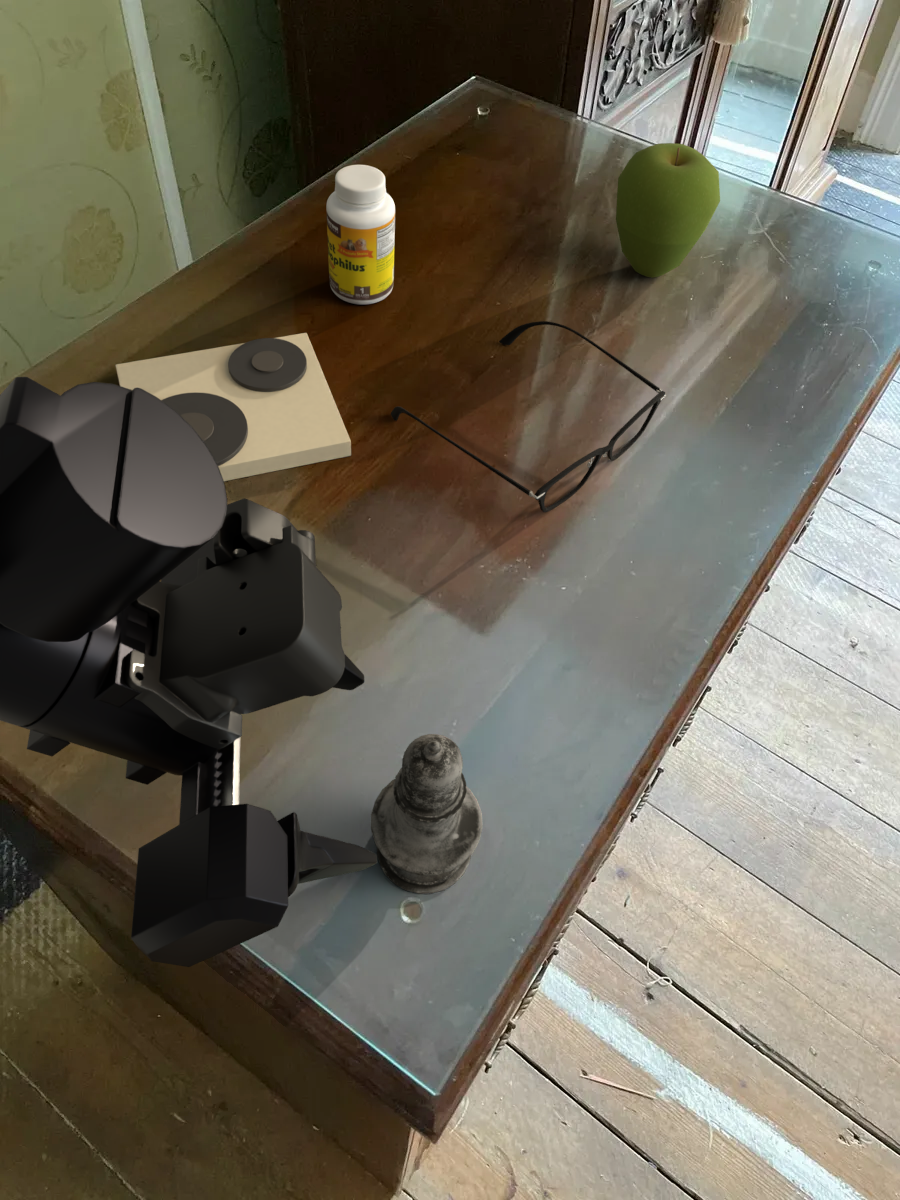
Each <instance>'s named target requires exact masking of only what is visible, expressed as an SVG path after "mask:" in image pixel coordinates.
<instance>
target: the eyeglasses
mask: <svg viewBox="0 0 900 1200" xmlns="http://www.w3.org/2000/svg"><path fill="white" fill-rule="evenodd" d="M547 325H548V326H554V327H559V328H562V329H565V330H568V331H569V332H571V333H573V334H575V335H576V336H578V337H580V338H581V339H583V340H584V341H586V342H587V343H589V344H590V345H592V346H593V347H595V348H596V349H598V350H599V351H600V352H601V353H603V354H604V355H606V356H607V357H609V358H610V360H613V361H614V362H615V363H617V364H618V365H619V366H621V367H622V368H623V369H624V370H626V371H628V372H629V373H630V374H631V375H633V376H634V377H636V378H637V379H638V380H640V382H642V383H644V384H645V385H647V386H648V387H649V388H650V389H652V390H653V391H655V392H656V393H657V394H656V395H654V396H653V398H651V400H649V401H648V402H647V403H646V404H644V405H643V406H642V407H641V408H640V409H638V411H637V412H636V413H635V414H634V415H633V416H632V417H631V418H630V419H629V420H628V421H627V422H626V423H625V424H623V426H621V428H619V430H618V431H617V432H616V433H615V434H614V435H613V436H612V437H611V439H610V440H609V442H608V444H607V445H606V446H603V447H598V448H596V449H594V450H593V451H591V452H589V453H587V454H585V455H584V456H582V457H581V458H579V459H577V460H576V461H574V462H573V463H572V464H570V465H568V466H567V467H566V468H564V469H563V470H562V471H560V472H559V473H558V474H556V475H555V476H553V477H552V478H551V479H550V480H548V481H547V482H546V483H544V484H543V485H542V486H541V487H539V488H538V489H537V490H536V491H535V493H534V492H533V490H530V489H528V488H527V487H525V486H523V485H522V484H521V483H519V482H517V481H516V480H514V479H513V478H511V477H509V476H508V475H507V474H506V473H505V474H504V473H503V472H502V471H500V470H499V469H497V468H495V466H492V465H490V463H487V462H486V461H484V460H483V459H481V458H480V457H479V456H477V455H475V454H474V453H472V452H471V451H469V450H467V449H465V448H464V447H463V446H461V445H460V444H458V443H457V442H455V441H453V440H452V439H450V438H448V437H447V436H445V435H444V434H442V433H441V432H439V431H438V430H436V429H435V428H433V427H432V426H430V425H429V424H428V423H426V422H425V421H423V420H422V419H420V418H419V417H418V416H416V415H415V414H413V413H411V412H410V411H408V410H406V409H405V408H403V407H402V406H400V405H399V406H397V405H396V406H395V407H393V408H392V410H391V412H390V417H391V418H392V420H394V421H395V422H397V421H398V419H399V417H400V415H401V414H405V415H407V416H409V417H410V418H412V419H413V420H415V421H417V422H418V423H419V424H421V425H423V426H424V427H426V429H429V430H430V431H432V432H433V433H435V434H436V435H438V436H439V437H441V438H442V439H444V440H445V441H447V442H448V443H449V444H451V445H452V446H454V447H455V448H457V449H458V450H460V451H461V452H463V453H465V454H466V455H467V456H469V458H472V459H474V460H475V461H476V462H478V463H479V464H481V465H482V466H484V467H485V468H486V469H488V470H490V471H491V472H493V473H494V474H496V475H497V476H499V477H500V478H502V479H503V480H505V481H506V482H508V483H509V484H511V485H512V486H514V487H515V488H516V489H518V490H520V491H521V492H522V493H524V494H526V495H527V496H529V497H530V498H534V499H535V500H536V501H537V502H538V505H539V506H538V507H539V509H540V511H542V512H543V513H548V512H550V511H552V510H554V509H555V508H557V507H558V506H561V504H563V503H565V502H566V501H567V500H569V498H571V497H572V496H574V495H575V494H576V493H577V492H579V490H580V489H582V488H583V486H584V485H585V484H586V482H588V480H589V478H590V477H591V475H592V473H593V472H594V470H595V469H596V467H597V465H598V464H599V462H600V460H601V459H602V457H603V458H606V457H607V459H608V460H610V461H611V462H613V461H616V460H617V459H618V458H620V457H621V456H622V455H623V454H624V453H625V452H627V450H629V448H631V447H632V446H633V445H634V444H635V442H637V440H638V439H640V437H641V436H642V434H643V433H644V431H645V430H646V428H647V427H648V425H649V424H650V422H651V420H652V418H653V416H654V415H655V413H656V411H657V409H658V407H659V405H660V404H661V403H662V401H663V400H664V398H666V396H667V393H666V391H664V390H663V389H662V388H660V387H659V386H657V385H656V384H654V382H651V381H650V380H648V378H646V377H644V376H643V375H642V374H640V373H639V372H638V371H636V370H635V369H633V368H631V367H630V366H629V365H628V364H626V363H625V362H623V361H622V360H620V359H619V358H617V357H616V356H614V355H613V354H611V353H610V352H608V351H607V350H605V349H604V348H603V347H601V346H600V345H598V344H597V343H596V342H594V341H593V340H591V339H589V338H587V336H585V335H583V334H581V333H580V332H579V331H577V330H575V329H573V328H571V327H569V326H567V325H564V324H561V323H558V322H553V321H546V320H541V321H531V322H527V323H523V324H520V325H518V326H517V327H515V328H513V329H512V330H511V331H508V333H507V334H505V335H504V336H503V337H502V338H501V339H499V340H498V343H500V344H502V345H504V346H510V345H511V346H512V344H513V343H514V342H515V341H516V339H518V337H520V336H521V335H522V334H523V333H525V331H527V330H528V329H530V328H534V327H537V326H547ZM650 408H651V409H650ZM649 409H650V411H649V413H648V414H647V416H646V418H645V420H644V422H643V424H641V427H640V429H639V430H638V431H637V433H636V434H635V435H634V436H633V437H632V439H630V440H629V441H628V443H627V444H626V445H624V446H623V447H622V448H621V449H620V450H619V451H618V452H617V453H615V454H614V455H613V451H614V447H615V444H616V442H617V441H618V439H620V438H621V436H622V435H623V434H624V433H625V432H626V431H627V430H628V429H629V428H630V427H631V426H632V425H633V424H634V423H635V422H636V421H637V420H638V419H639V418H640V417H642V415H643V414H645V413H646V412H647V411H648V410H649ZM589 460H590V461H589ZM584 463H587V464H586V465H587V466H586V467H587V468H588V470H587V472H586V473H585V474H584V476H583V477H582V479H581V480H580V482H579V483H578V484H577V485H576V486H575V487H573V488H572V489H571V490H570V491H569V492H568V493H567V494H565V495H564V496H562V497H561V498H559V499H558V500H556V501H555V502H553V503H552V504H550V505H548V506H546V505H545V504H546V503H545V500H546V497H547V493H548V491H549V490H550V489H551V488H552V487H553V486H554V485H555V484H557V483H558V482H559V481H560V480H562V479H563V478H564V477H565V476H567V475H568V474H570V473H571V472H572V471H574V470H575V469H577V468H578V467H580V466H581V465H583V464H584Z"/></svg>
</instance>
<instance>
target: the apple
mask: <svg viewBox="0 0 900 1200" xmlns="http://www.w3.org/2000/svg"><path fill="white" fill-rule="evenodd" d="M616 188H617V190H616V191H617V194H616V209H615V222H616V228H617V232H618V238H619V243H620V248H621V252H622V253H623V255H624V257H625V259H626V260H627V261H628V263H629V264H630V267H632V269H633V270H634V271H635V272H636V273H638V274H639V275H642V276H644V277H646V278H652V279H655V278H659V277H661V276H664V275H666V274H668V273H669V272H671V271H673V270H674V269H676V268H679V267H680V266H681V264H682V263H683V262H684V260H686V258H687V256H688V255H689V253H690V252H691V251H692V249H693V248H694V247H695V245H696V244H697V242H698V241H699V240H700V238H701V237H702V236H703V234H704V233H705V231H706V230H707V228H708V226H709V224H710V222H711V220H712V218H713V216H714V214H715V212H716V211H717V208H718V207H719V204H720V203H721V189H720V188H721V187H720V173H719V170H718V169H717V168H716V166H714V165H713V163H711V161H710V160H709V159H707V157H706V156H705V155H704V154H703V153H701V152H700V151H698V150H697V149H696V148H693V147H691V146H688V145H686V144H684V143H675V142H662V143H655V144H653V145H650V146H647V147H645V148H643V149H640V150H639V151H636V152H635V153H634V154H633V155H632V156H631V157H630V158H629V160H628V162H627V163H626V165H625V166H624V167H623V170H622V171H621V173H620V174H619V175H618V177H617V187H616Z"/></svg>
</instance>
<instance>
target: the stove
mask: <svg viewBox="0 0 900 1200" xmlns="http://www.w3.org/2000/svg"><path fill="white" fill-rule="evenodd" d="M114 365H115V370H116V374H117V375H116V376H117V380H118V384H119V386H121V387H124V388H128V389H131V390H133V389H134V388H137V387H138V388H141V389H143V390H145V391H147V392H148V393H150V394H152V395H154V396H156V397H157V398H159V399H160V400H161V401H163V402H164V403H165V404H167V405H168V406H170V407H171V408H172V409H174V410H175V411H176V412H177V413H178V414H179V415H180V416H181V417H182V418H183V419H184V420H185V421H186V422H188V423H189V424H190V425H191V426H192V428H193V429H194V430H195V431H196V433H197V434H198V435H199V436H200V438H201V439H202V440H203V441H204V443H205V444H206V445H207V447H208V449H209V451H210V452H211V454H212V456H213V457H214V459H215V461H216V462H217V465H218V467H219V470H220V472H221V475H222V478H223V480H224V482H228V481H233V480H238V479H243V478H247V477H252V476H257V475H262V474H267V473H272V472H277V471H281V470H282V471H283V470H287V469H292V468H297V467H302V466H306V465H312V464H317V463H321V462H327V461H331V460H337V459H341V458H347V457H351V456H352V441H351V438H350V435H349V433H348V431H347V428H346V426H345V423H344V421H343V419H342V415H341V414H340V411H339V409H338V406H337V404H336V401H335V398H334V397H333V394H332V392H331V391H332V390H331V389H330V387H329V384H328V382H327V380H326V379H327V378H326V377H325V374H324V371H323V370H322V366H321V364H320V362H319V360H318V357H317V355H316V352H315V350H314V347H313V345H312V343H311V340H310V338H309V335H308V333H307V332H302V333H297V334H290V335H284V336H278V337H263V338H257V339H252V340H249V341H247V342H242V343H236V344H231V345H224V346H218V347H212V348H206V349H200V350H193V351H189V352H188V351H187V352H183V353H176V354H171V355H165V356H158V357H152V358H147V359H140V360H135V361H129V362H128V361H127V362H123V363H116V364H114Z"/></svg>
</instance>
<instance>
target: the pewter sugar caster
mask: <svg viewBox="0 0 900 1200" xmlns="http://www.w3.org/2000/svg"><path fill="white" fill-rule="evenodd" d="M463 761H464V760H463V754H462V753H461V750H460V747H459V746H458V745H457V744H456V743H455V741H454V740H452V739H451V738H449V737H447V736H444V735H443V734H437V733H428V734H424V735H421V736H418V737H416V738H414V739H413V740H412V741H411V742H410V743H408V746H407V747H406V749H405V751H404V753H403V756H402V759H401V767H400V769H399V771H398V772H397V774H396V775H395V778H393V779H392V780H391V781H390V782H389V783H387V785H386V786H384V788H382V789H381V791H380V793H379V794H378V795H377V797H376V799H375V800H374V804H373V807H372V810H371V814H370V830H371V834H372V838H373V841H374V844H375V845H376V854H377V861H378V863H379V866H380V868H381V870H382V872H383V873H384V875H385V876H386V877H387V879H388V880H390V881H391V882H392V883H393V884H394V885H395V886H397V887H398V888H401V889H402V890H405V891H406V892H410V893H415V894H418V895H422V894H424V895H425V894H429V895H430V894H435V893H439V892H442V891H445V890H446V889H448V888H450V887H451V886H453V885H455V884H456V883H457V882H458V881H459V880H460V879H461V878H462V877H463V876H464V875H465V873H466V871H467V869H468V867H469V865H470V862H471V859H472V858H471V857H472V855H473V854H474V852H475V850H476V849H477V846H478V845H479V843H480V842H481V841H480V840H481V836H482V832H483V827H484V825H483V814H482V813H483V812H482V809H481V806H480V803H479V802H478V799H477V798H476V796H475V794H474V793H473V792H472V790H471V789H470V787H468V786H467V781H466V778H465V776H464V774H463V767H464V762H463Z"/></svg>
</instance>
